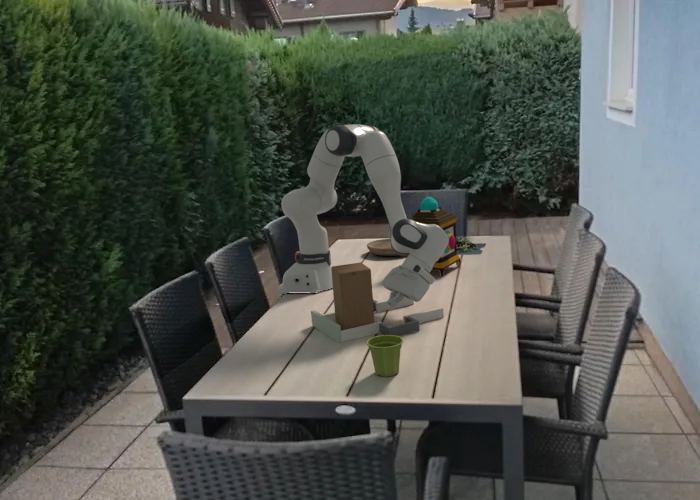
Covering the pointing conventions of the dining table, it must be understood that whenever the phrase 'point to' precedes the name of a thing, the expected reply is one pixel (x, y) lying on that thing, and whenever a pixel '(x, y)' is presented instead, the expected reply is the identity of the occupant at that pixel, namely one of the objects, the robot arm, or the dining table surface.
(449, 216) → the decorative lantern
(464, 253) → the plated dish
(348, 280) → the wooden block
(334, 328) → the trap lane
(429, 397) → the dining table surface
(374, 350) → the plant pot
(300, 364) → the dining table surface
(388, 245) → the ceramic bowl
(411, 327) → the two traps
